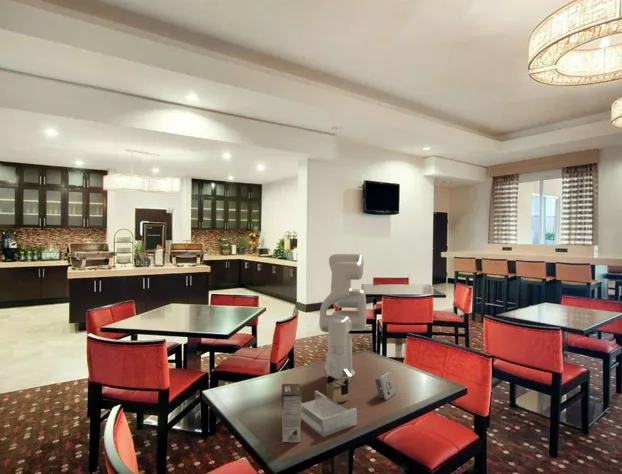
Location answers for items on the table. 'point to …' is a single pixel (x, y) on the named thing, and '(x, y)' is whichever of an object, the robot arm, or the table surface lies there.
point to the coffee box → (291, 413)
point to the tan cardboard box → (336, 392)
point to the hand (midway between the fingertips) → (337, 390)
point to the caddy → (327, 415)
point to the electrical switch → (385, 386)
